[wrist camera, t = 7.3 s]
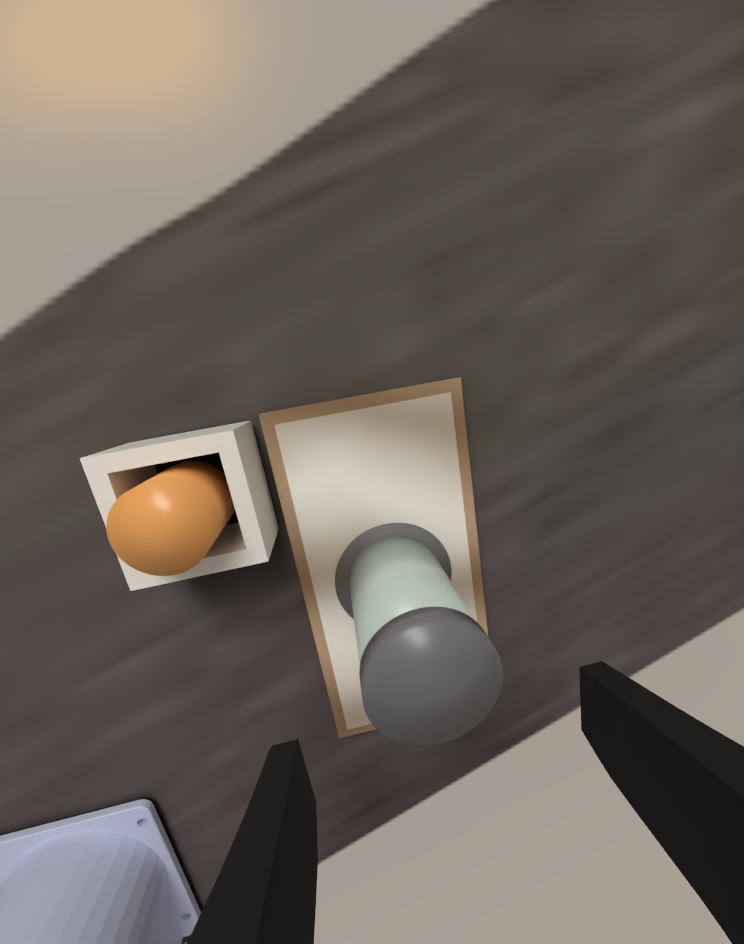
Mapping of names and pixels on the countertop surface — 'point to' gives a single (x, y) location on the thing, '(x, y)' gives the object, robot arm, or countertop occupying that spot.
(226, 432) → the button box
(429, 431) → the sketch pad
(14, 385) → the countertop surface
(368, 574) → the ink stamp
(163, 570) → the button
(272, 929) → the robot arm
